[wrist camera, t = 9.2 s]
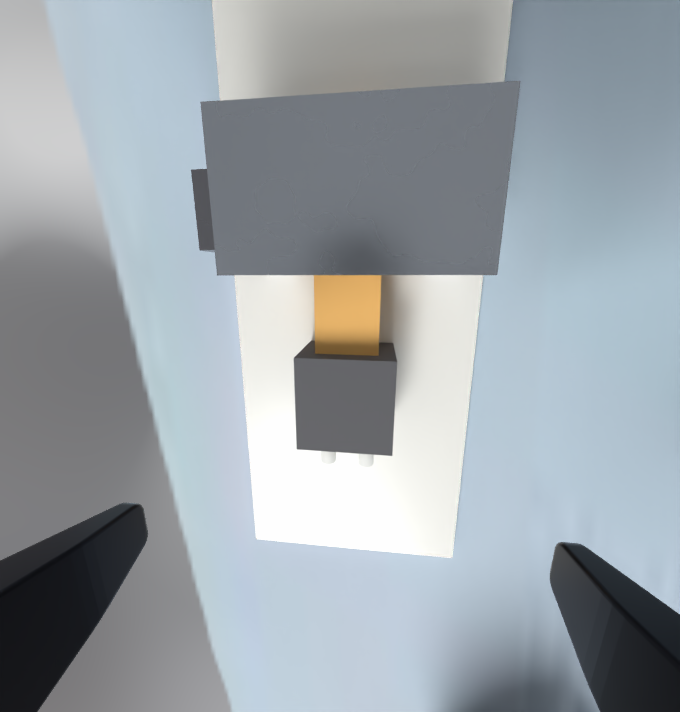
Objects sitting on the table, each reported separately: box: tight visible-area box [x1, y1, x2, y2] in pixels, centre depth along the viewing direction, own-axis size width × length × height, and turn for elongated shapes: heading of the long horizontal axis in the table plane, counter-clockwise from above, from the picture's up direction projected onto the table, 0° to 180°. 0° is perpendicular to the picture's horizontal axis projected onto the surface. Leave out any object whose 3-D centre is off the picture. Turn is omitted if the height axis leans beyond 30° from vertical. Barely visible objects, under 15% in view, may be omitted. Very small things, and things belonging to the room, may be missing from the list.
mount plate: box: [212, 0, 513, 558], centre depth 14 cm, size 12×38×1 cm, turn 0°
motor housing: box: [191, 81, 520, 275], centre depth 12 cm, size 11×5×5 cm, turn 90°
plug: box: [294, 275, 397, 467], centre depth 13 cm, size 4×14×3 cm, turn 0°
